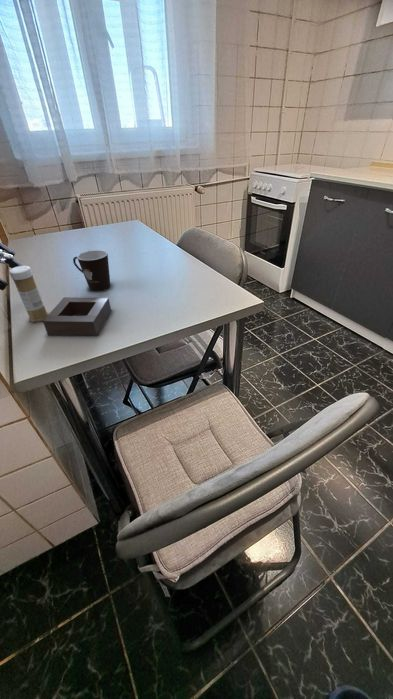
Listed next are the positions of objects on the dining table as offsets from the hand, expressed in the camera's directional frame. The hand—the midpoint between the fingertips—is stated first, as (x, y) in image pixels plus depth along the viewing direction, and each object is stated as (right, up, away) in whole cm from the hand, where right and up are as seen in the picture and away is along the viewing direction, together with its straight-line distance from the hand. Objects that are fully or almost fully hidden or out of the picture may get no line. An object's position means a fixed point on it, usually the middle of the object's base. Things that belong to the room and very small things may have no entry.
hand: (15, 279), depth 71 cm
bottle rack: (+14, -10, +4) cm, 18 cm away
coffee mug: (+12, +3, +22) cm, 25 cm away
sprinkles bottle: (+2, -9, +6) cm, 11 cm away
